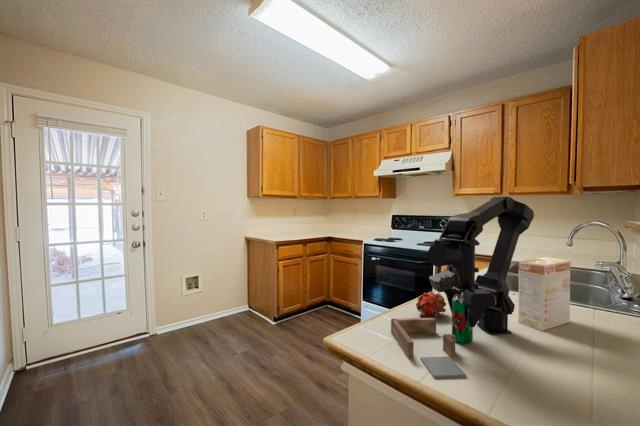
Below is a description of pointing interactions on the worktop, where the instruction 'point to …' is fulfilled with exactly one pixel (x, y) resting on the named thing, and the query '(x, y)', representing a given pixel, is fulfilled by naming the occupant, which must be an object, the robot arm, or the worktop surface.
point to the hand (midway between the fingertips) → (462, 320)
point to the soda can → (461, 321)
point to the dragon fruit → (431, 304)
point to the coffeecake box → (544, 292)
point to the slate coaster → (442, 367)
